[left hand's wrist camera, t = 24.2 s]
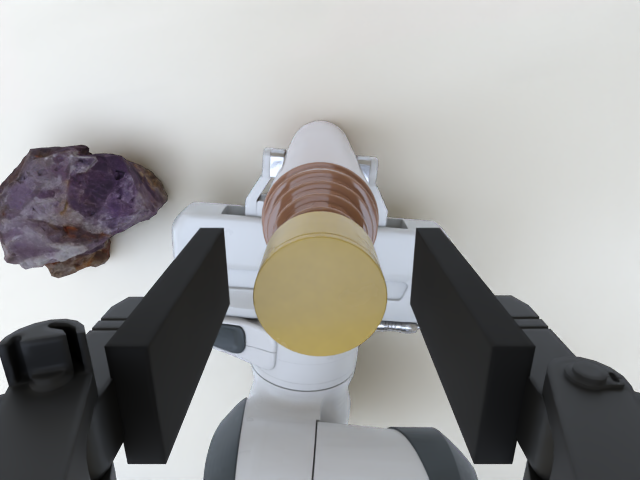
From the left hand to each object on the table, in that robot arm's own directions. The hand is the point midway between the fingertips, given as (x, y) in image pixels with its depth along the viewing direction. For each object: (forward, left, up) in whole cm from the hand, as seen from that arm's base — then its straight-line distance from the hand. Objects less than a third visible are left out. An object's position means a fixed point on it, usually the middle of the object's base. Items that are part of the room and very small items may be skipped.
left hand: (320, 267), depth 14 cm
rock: (+15, -12, -24) cm, 31 cm away
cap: (0, 0, +2) cm, 2 cm away
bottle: (0, 0, -24) cm, 24 cm away
